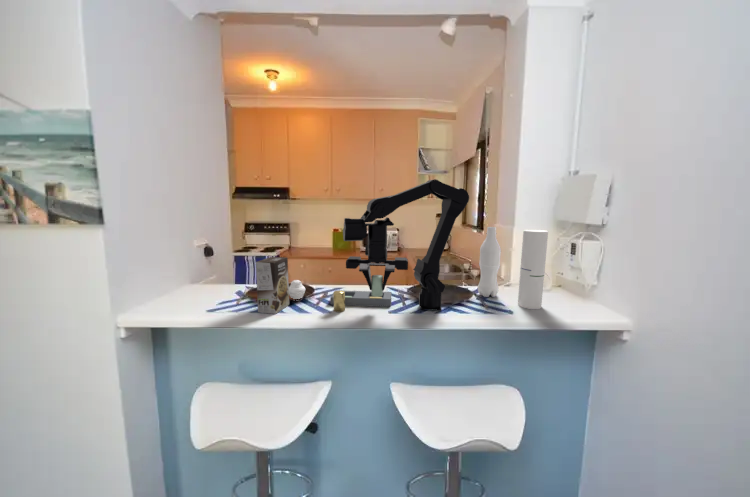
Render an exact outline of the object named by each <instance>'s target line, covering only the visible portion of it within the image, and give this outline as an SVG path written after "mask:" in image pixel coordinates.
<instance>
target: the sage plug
mask: <svg viewBox="0 0 750 497" xmlns="http://www.w3.org/2000/svg"><path fill="white" fill-rule="evenodd" d="M383 279H384V275H381V274H373V275H371V282H372V283H371V285H372V289H371V290H370V291H371V295H372V296H375V297H380V296H382V295H383V292H384V291H383V289H382V286H383Z"/></svg>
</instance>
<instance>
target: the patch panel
mask: <svg viewBox="0 0 750 497" xmlns="http://www.w3.org/2000/svg"><path fill="white" fill-rule="evenodd" d="M334 291H337V290H334ZM344 291H345V306H361V307H362V306H366V307H391V305H392V291H383V295H382V296H380V297H375V296H372V295H371V290H368V291H367V290H344ZM329 298H330V299H329V300H330V305H332V306H334V292H333V293H332V294H331V296H330V297H329Z"/></svg>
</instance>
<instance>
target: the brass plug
mask: <svg viewBox="0 0 750 497" xmlns="http://www.w3.org/2000/svg"><path fill="white" fill-rule="evenodd" d="M345 291H346V290H342V289H341V290H340V289H339V290H337V291H335V290H333V293H334V305H333V312H335V313H344V312H345V311H346V305H345Z"/></svg>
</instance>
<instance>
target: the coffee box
mask: <svg viewBox="0 0 750 497" xmlns="http://www.w3.org/2000/svg"><path fill="white" fill-rule="evenodd" d="M288 259H289V258H288V257H287V256H286V257H284V256H281V257H280V256H275V257H274V256H269V257H266V258H263V259H261V260H257V261H255V271H256V272H255V274H256V278H255V279H256V293H257V294H256V296H257V312H258V313H260V314H271V315H277V314H278V313H280V312H281V311H282V310H284V309H285V308H287V307H288V306H289V305H290V295H289V286H290V285H289V265H288V262H289V260H288Z"/></svg>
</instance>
